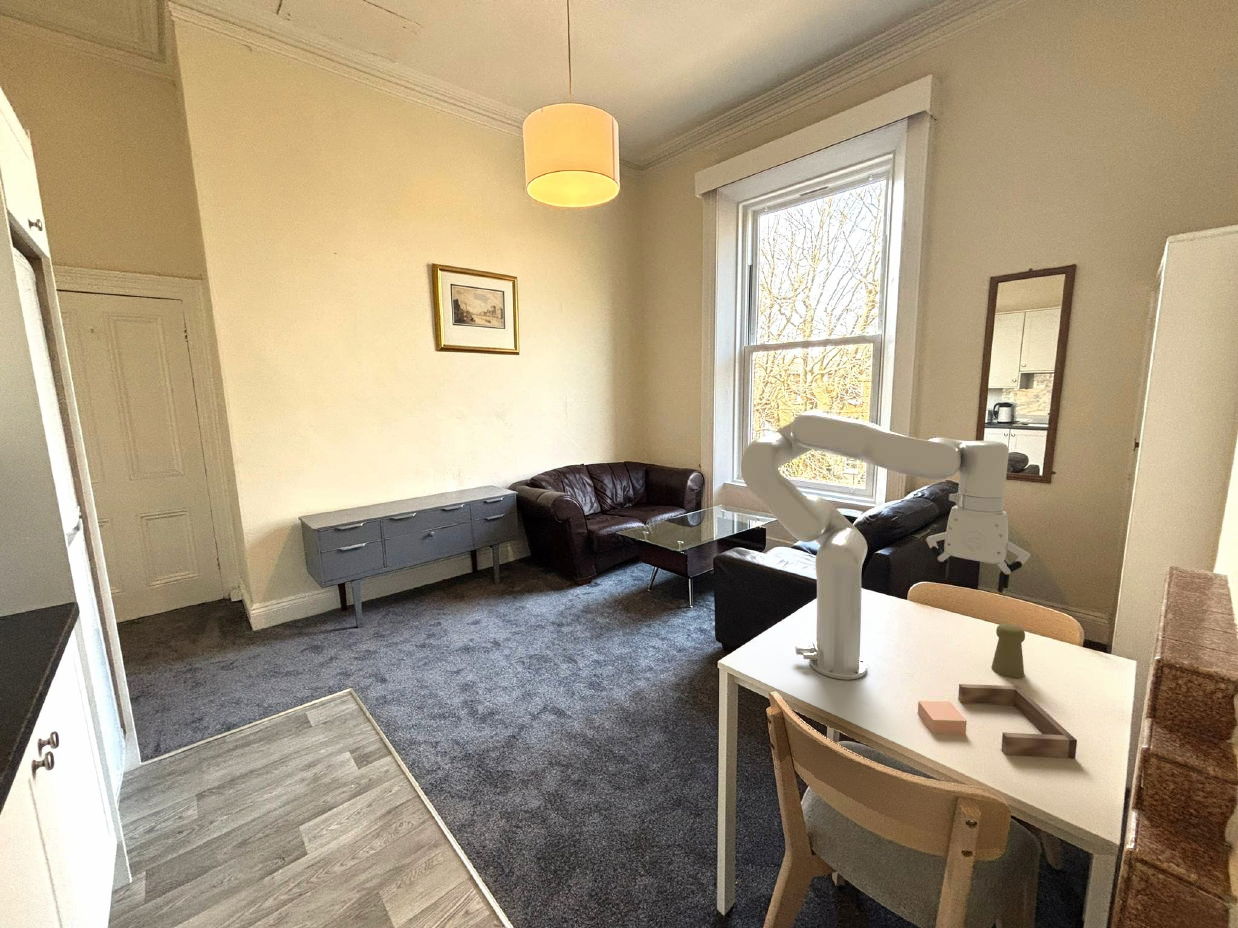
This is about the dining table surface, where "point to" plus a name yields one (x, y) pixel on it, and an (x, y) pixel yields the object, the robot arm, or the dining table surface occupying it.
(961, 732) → the terracotta block
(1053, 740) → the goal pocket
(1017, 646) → the cork
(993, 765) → the dining table surface
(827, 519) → the robot arm
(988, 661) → the dining table surface
